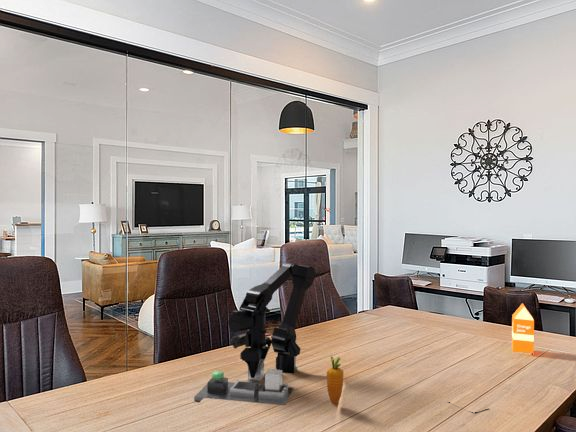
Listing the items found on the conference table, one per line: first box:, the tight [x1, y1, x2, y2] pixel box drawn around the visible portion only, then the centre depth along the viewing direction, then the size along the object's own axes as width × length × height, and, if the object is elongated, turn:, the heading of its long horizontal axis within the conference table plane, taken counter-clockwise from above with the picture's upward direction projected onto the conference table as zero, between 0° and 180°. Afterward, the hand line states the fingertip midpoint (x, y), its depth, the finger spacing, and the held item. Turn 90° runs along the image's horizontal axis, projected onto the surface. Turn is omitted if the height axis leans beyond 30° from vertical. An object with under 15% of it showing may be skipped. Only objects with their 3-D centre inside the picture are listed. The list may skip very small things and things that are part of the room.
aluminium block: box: [247, 359, 265, 382], centre depth 160 cm, size 4×4×7 cm
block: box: [264, 368, 283, 392], centre depth 145 cm, size 4×4×7 cm
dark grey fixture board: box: [193, 377, 294, 406], centre depth 147 cm, size 28×14×4 cm, turn 79°
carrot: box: [326, 355, 344, 405], centre depth 140 cm, size 5×5×15 cm
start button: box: [211, 370, 225, 380], centre depth 149 cm, size 4×4×2 cm
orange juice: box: [511, 302, 535, 354], centre depth 198 cm, size 8×9×20 cm
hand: (256, 373), depth 160 cm, fingers open, 9 cm apart
